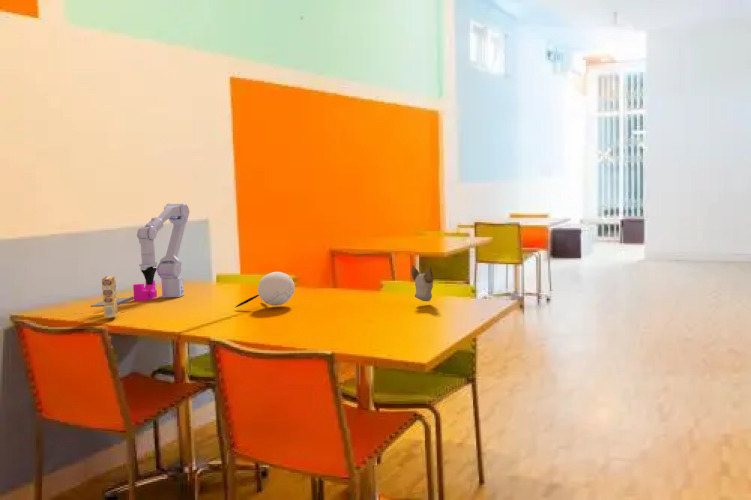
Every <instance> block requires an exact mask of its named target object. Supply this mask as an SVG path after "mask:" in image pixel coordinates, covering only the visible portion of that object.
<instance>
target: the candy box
mask: <svg viewBox="0 0 751 500" xmlns="http://www.w3.org/2000/svg"><path fill="white" fill-rule="evenodd" d="M101 284H102V285H101V286H102V287H101V289H102V299H103V300H102V301H104V306H103V312H104V318H105V319H106V318H115V317H117V315H118V314H119V309H118V308H119V305H118V306H117V298H118V295H117V282H116V275H111V276H110V275H109V276H108V275H107V276H104V277H103V278H102V279H101Z"/></svg>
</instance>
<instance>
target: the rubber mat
mask: <svg viewBox="0 0 751 500" xmlns="http://www.w3.org/2000/svg"><path fill="white" fill-rule="evenodd" d="M132 300H134V295H133V296H130V297H117V306H118V307H119V306H120V305H123V304H126V302H127V303H128V302H130V301H132ZM90 307H104V301H103V300H102V301H99V302H97V303H94V304H91V305H90Z"/></svg>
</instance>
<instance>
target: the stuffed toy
mask: <svg viewBox="0 0 751 500" xmlns="http://www.w3.org/2000/svg"><path fill="white" fill-rule="evenodd" d="M257 293H258V294H257V295H254V296H251V297H249V298H248V299H245V300H244V301H241V302H240V303H238V305H236V306H235V308H238V307H241V306H244V305H245V304H247V303H249V302H250V301H252V300H254V299H256V298H258V297H259V298H260V299H261V302H262V301H263V302H264V303H265V304H268V305H270V306H281V305H284V304H286V303H287V302H288V301H290V300H291V299H292V298H293V296H294V293H295V282H294V280H293V278H292V277H291V276H290V275H288V274H287V273H284V272H282V271H273V272H270V273H267V274H266V275H264V276H263V277H262V278H261V279H260V280H259V284H258V286H257Z"/></svg>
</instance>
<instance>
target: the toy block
mask: <svg viewBox="0 0 751 500" xmlns="http://www.w3.org/2000/svg"><path fill="white" fill-rule="evenodd" d="M132 288H133V289H132V290H133V296H134V299H133V300H134V302H146V301H151V300H153V299H156V298H157V297H158V291H157V290H158V289H157V290H156V288H157V287H156V280H153V284H152V285H147V283H146V282H145V284H144V283H135V284H132Z"/></svg>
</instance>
